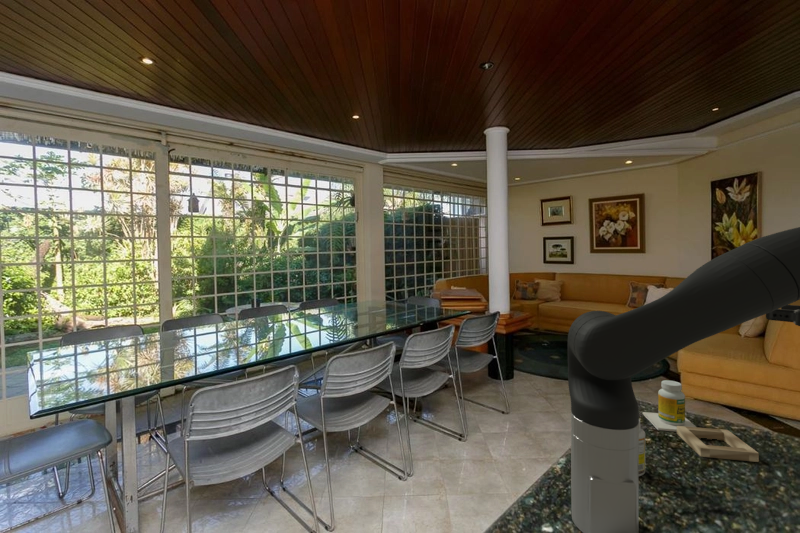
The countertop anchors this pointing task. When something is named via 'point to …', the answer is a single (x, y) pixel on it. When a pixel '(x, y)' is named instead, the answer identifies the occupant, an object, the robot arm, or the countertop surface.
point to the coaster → (664, 426)
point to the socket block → (734, 452)
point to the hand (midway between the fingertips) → (774, 311)
